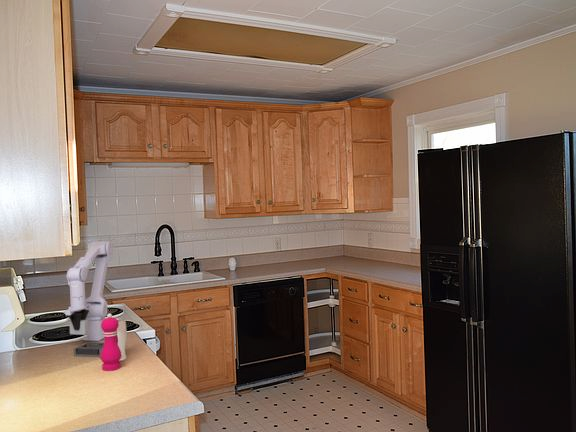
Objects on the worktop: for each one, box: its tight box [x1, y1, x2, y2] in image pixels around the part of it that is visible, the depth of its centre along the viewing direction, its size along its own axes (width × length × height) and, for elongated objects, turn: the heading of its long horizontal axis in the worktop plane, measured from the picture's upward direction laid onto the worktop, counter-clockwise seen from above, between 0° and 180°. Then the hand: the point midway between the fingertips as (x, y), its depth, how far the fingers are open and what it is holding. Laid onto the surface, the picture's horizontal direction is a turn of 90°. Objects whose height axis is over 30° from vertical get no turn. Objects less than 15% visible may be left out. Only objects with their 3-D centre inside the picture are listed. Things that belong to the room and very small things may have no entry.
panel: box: [69, 320, 89, 336], centre depth 208 cm, size 2×7×6 cm, turn 80°
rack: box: [73, 341, 104, 358], centre depth 201 cm, size 9×12×3 cm
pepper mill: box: [99, 312, 122, 372], centre depth 182 cm, size 7×7×20 cm
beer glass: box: [116, 318, 128, 362], centre depth 192 cm, size 7×7×15 cm
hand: (79, 328), depth 209 cm, fingers closed on panel, 2 cm apart
